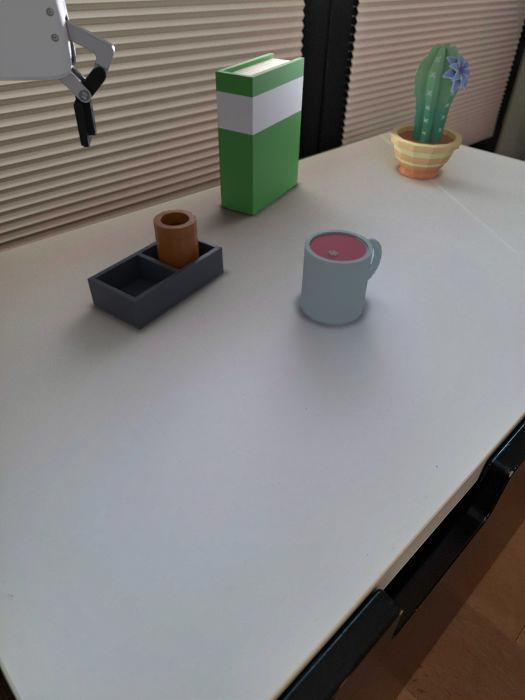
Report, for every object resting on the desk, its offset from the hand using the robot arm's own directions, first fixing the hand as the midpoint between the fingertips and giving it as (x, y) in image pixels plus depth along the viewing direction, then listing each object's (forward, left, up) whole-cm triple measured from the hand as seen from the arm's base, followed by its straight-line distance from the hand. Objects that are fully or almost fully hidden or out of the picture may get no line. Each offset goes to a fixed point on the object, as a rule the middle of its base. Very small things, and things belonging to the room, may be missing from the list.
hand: (35, 144), depth 49 cm
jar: (-3, +21, -26) cm, 33 cm away
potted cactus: (+10, +85, -27) cm, 90 cm away
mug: (+21, +30, -27) cm, 45 cm away
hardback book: (-11, +53, -27) cm, 61 cm away
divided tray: (-3, +16, -27) cm, 32 cm away
